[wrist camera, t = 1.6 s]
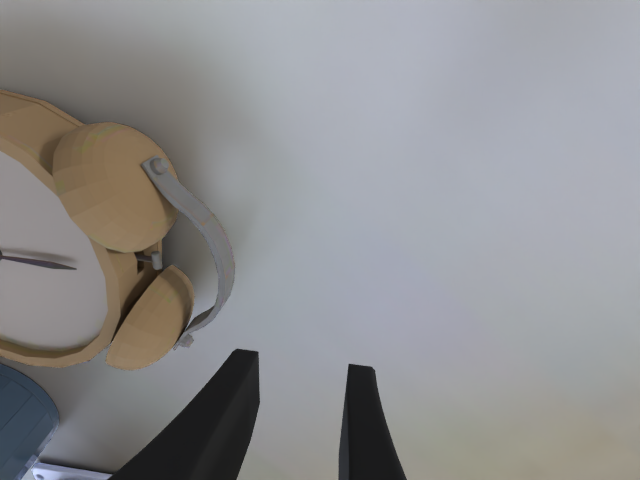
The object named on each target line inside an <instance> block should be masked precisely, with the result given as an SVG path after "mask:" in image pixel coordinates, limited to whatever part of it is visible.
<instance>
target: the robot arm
mask: <svg viewBox="0 0 640 480" xmlns="http://www.w3.org/2000/svg"><path fill="white" fill-rule="evenodd" d="M259 404H260V394H259V358H258V352H257V351H249V350H242V349H236V350H234V351H233V352H232V353H231V355H230V356H229V357H228V358H227V360H226V361H225V362H224V363H223V365H222V366H221V367H220V368H219V370H218V371H217V372H216V373H215V374H214V376H213V377H212V378H211V379H210V380H209V382H208V383H207V384H206V385H205V386H204V387H203V388H202V390H201V391H200V392H199V393H198V394H197V395H196V396H195V397H194V398H193V399H192V401H191V402H190V403H189V404H188V405H187V406H186V407H185V408H184V409H183V410H182V411H181V412H180V413H179V414H178V415H177V416H176V417H175V418H174V419H173V420H172V421H171V422H170V423H169V424H168V425H167V426H166V427H165V428H164V429H163V430H162V431H161V432H160V433H159V434H158V435H157V436H156V437H155V438H154V439H153V440H152V441H151V442H150V443H149V444H148V445H147V446H146V447H145V448H143V449H142V450H141V451H140V452H139V453H138V454H137V455H136V456H134V457H133V458H132V459H131V460H130V461H129V462H128V463H126V464H125V465H124V466H123V467H122V468H121V469H119V470H118V471H117V472H116V473H114V474H113V475H112V474H106V473H100V472H94V471H88V470H82V469H76V468H69V467H63V466H57V465H51V464H45V463H35V465H34V466H33V467H32V469H31V470H32V473H33V475H34V477H35V479H36V480H236V479H237V477H238V474H239V471H240V468H241V466H242V463H243V460H244V457H245V454H246V452H247V449H248V446H249V443H250V440H251V437H252V433H253V429H254V425H255V421H256V417H257V412H258V408H259ZM339 480H407V479H406V477H405V474H404V472H403V469H402V466H401V464H400V461H399V459H398V456H397V453H396V450H395V448H394V445H393V442H392V439H391V436H390V433H389V430H388V426H387V423H386V420H385V417H384V413H383V409H382V405H381V401H380V397H379V393H378V388H377V382H376V375H375V370H374V369H373V368H372V367H369V366H361V365H354V364H349V366H348V375H347V384H346V393H345V401H344V410H343V419H342V429H341V438H340V448H339Z"/></svg>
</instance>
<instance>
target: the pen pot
mask: <svg viewBox="0 0 640 480" xmlns="http://www.w3.org/2000/svg"><path fill="white" fill-rule="evenodd" d="M58 426H59V414H58V411H57V408H56V406H55V404H54V403H53V401H52V400H51V398H50V397H49V396H48V394H47V393H46V392H45V391H44V390H43V389H42V388H41V387H40V386H38V385H37V384H36V383H35V382H34V381H32V380H31V379H30V378H28V377H26V376H25V375H23V374H22V373H20V372H18V371H16V370H14V369H12V368H10V367H8V366H5V365H2V364H0V480H21V479H22V477H23V476H24V475H25V473H26V472H27V471H28V469H29V468H30V467H31V465H32V464H33V463H34V461H35V460H36V459H37V457H38V456H39V455H40V453H41V452H42V451H43V449H44V448H45V447H46V445H47V444H48V443H49V441H50V440H51V437H52V436H53V434H54V433H55V432H56V430H57V428H58Z"/></svg>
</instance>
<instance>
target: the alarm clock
mask: <svg viewBox="0 0 640 480" xmlns="http://www.w3.org/2000/svg"><path fill="white" fill-rule="evenodd" d="M179 210H180V211H181V212H182V213H183V214H185V215H186V216H187V217H188V218H189V220H190V221H191V222H192V223H193V224H194V225H195V226H196V227H197V228H198V229H199V231H200V232H201V234H202V235H203V237H204V238H205V240H206V241H207V243H208V245H209V247H210V250H211V252H212V255H213V257H214V259H215V263H216V268H217V272H218V277H219V282H218V295H217V299H216V303H215V305H214V306H213V307H212V308H210V309H209V310H207V311H205V312H203V313H201V314H200V315H198V316H197V317H195V318H194V319H193V320H192V322H191V323H190V325H189V326H188V327H187V325H188V323H189V320H190V317H191V314H192V311H193V306H194V297H195V296H194V290H193V286H192V284H191V282H190V280H189V279H188V277H187V276H186V275H185V274H184V273H183V272H182V271H181V270H180V269H178V268H177V267H175V266H174V265H171V266H169V267H167V268H166V269H165V270H164V271H163V272H162V267H163V264H162V238H164V237H165V236H166V234H167V233H168V232H169V230H170V229H171V227H172V226H173V224H174V223H175V222H176V219H177V215H178V211H179ZM234 274H235V263H234V258H233V253H232V248H231V245H230V243H229V240H228V238H227V235H226V233H225V230H224V229H223V227H222V226H221V224H220V223H219V221H218V220H217V218H216V217H215V215H214V214H213V213H212V212H211V211H210V210H209V209H208V208H207V207H206V206H205V205H204V204H203V202H201V201H200V200H199V199H197V198H196V197H195V196H194V195H192V194H191V193H190V192H189V191H188V190H187V189H186V188H185V187H184V186H183V185H182V184H181V183H180V182H179V181H178V178H177V175H176V172H175V170H174V168H173V166H172V164H171V162H170V160H169V159H168V157H167V156H166V155H165V153H164V152H163V150H162V149H161V148H160V147H159V146H158V145H157V144H156V143H154V142H153V141H152V140H151V139H150V138H149V137H148V136H146V135H144V134H143V133H141V132H139V131H137V130H136V129H134V128H132V127H130V126H126V125H122V124H118V123H114V122H101V123H94V124H87V125H85V124H83V123H82V122H80V121H78V120H77V119H75V118H73V117H72V116H70V115H68V114H67V113H65V112H63V111H61V110H60V109H58V108H56V107H55V106H53V105H51V104H50V103H48V102H46V101H44V100H40V99H36V98H33V97H29V96H25V95H21V94H17V93H14V92H10V91H6V90H0V356H1V357H4V358H8V359H11V360H14V361H17V362H20V363H23V364H26V365H31V366H44V367H57V368H63V367H67V366H71V365H75V364H79V363H83V362H87V361H90V360H91V359H92V358H94V357H95V356H96V355H97V354H98V353H100V352H101V351H102V350H103V349H104V348H105V347H107V346H108V345H109V344H110V343H111V342H112V341H113V342H112V344H111V346H110V348H109V350H108V352H107V356H106V360H105V361H106V363H107V364H108V365H110V366H112V367H115V368H118V369H122V370H137V369H141V368H144V367H147V366H149V365H151V364H153V363H154V362H156V361H158V360H159V359H160V358H162V357H163V356H164V355H165V354H166V353H168V352H169V351H170V350H171V349H172V347H173V346H174V345H175V344H176V345H175V347H174V348H173V350H176V348H177V347H178V345H181V346H182V347H186V348H189V347H190V345H191V344H192V343H193V341H194V340H193V338H192V336H191V335H190V334H189V333H191V332H194V331H196V330H198V329H200V328H202V327H204V326H206V325H207V324H208V323H210V322H211V321H212V320H213V319H214V318H215V317H216V315H217V314H218V312H219V311H220V310H221V308H222V306H223V305H224V303H225V302H226V300H227V299H228V297H229V296H230V293H231V290H232V286H233V283H234ZM186 327H187V329H186ZM185 329H186V330H185ZM184 331H185V332H184ZM183 332H184V333H183ZM177 341H178V342H177Z"/></svg>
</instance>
